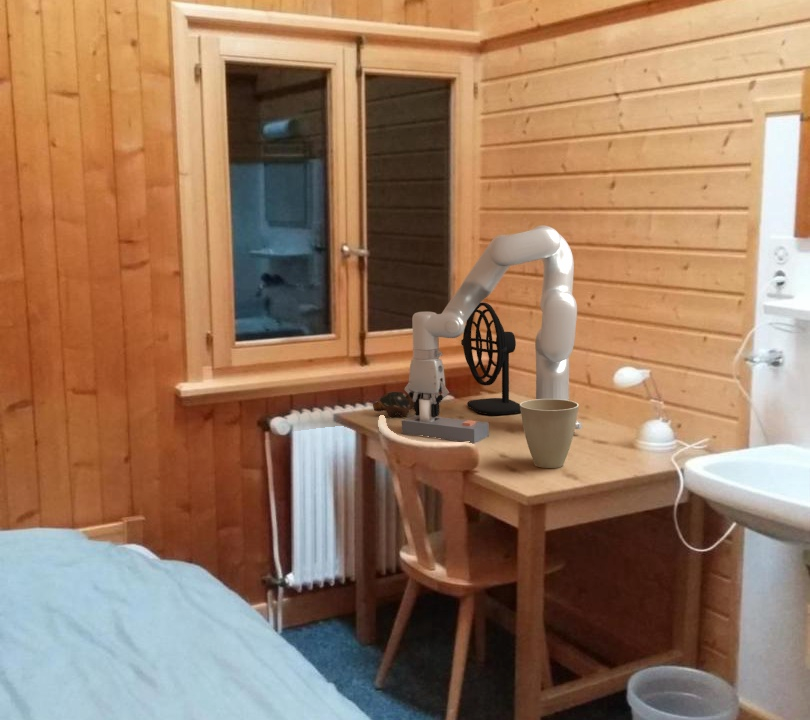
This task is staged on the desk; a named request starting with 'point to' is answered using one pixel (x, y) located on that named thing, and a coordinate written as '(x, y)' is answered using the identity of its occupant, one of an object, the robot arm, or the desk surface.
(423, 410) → the white bottle
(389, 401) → the decorative turtle
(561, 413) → the plant pot
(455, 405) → the desk surface
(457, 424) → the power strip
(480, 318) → the desk fan
